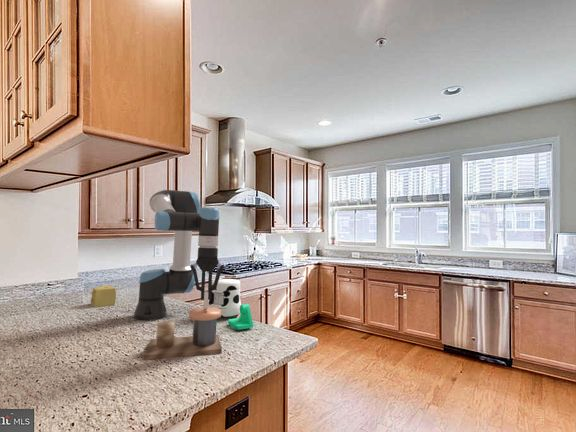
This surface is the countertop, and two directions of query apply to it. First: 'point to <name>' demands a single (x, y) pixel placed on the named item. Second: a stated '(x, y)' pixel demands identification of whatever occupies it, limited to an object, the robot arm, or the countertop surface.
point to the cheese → (103, 296)
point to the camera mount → (242, 319)
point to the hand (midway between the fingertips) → (205, 308)
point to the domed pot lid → (205, 314)
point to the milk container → (226, 297)
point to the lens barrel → (204, 332)
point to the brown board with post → (176, 344)
